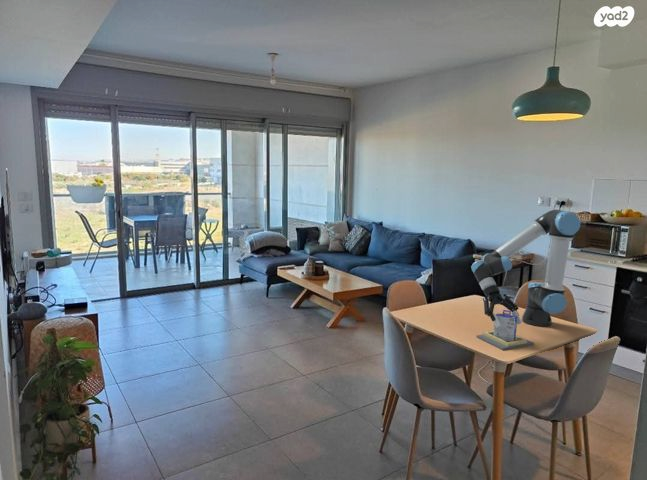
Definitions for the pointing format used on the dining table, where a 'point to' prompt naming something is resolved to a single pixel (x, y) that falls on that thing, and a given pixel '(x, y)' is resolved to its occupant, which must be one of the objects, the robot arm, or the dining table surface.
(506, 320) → the ink cartridge box
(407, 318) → the dining table surface
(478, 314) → the dining table surface
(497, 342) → the dock
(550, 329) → the dining table surface
